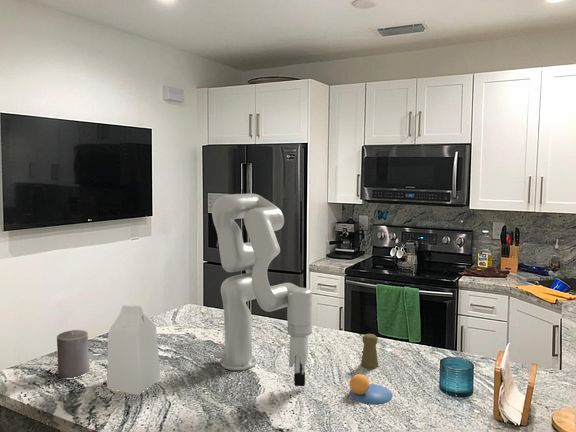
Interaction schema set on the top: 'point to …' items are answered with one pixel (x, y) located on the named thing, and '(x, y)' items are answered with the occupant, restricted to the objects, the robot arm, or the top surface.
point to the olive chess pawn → (369, 352)
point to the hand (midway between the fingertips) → (299, 384)
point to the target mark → (373, 395)
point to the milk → (132, 352)
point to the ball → (359, 384)
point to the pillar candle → (72, 353)
